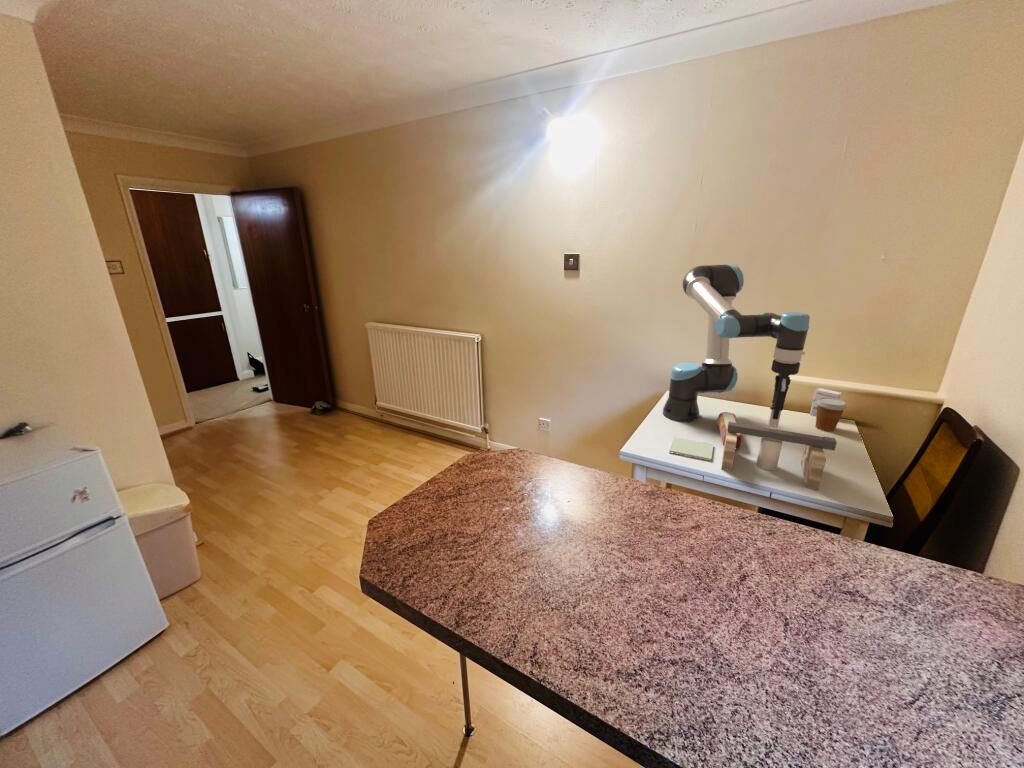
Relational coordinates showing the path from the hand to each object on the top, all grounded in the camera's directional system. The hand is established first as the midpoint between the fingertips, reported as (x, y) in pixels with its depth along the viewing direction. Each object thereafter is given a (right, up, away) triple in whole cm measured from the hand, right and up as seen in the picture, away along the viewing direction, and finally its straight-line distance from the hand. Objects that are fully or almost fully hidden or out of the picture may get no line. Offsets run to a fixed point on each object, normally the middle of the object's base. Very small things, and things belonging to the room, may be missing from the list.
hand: (772, 426), depth 138 cm
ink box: (+46, 0, +37) cm, 59 cm away
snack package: (-4, -7, +21) cm, 23 cm away
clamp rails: (-2, -14, 0) cm, 14 cm away
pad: (-23, -10, +12) cm, 28 cm away
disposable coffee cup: (+38, -4, +26) cm, 46 cm away
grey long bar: (-1, -4, -5) cm, 6 cm away
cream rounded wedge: (-2, -14, 0) cm, 14 cm away
